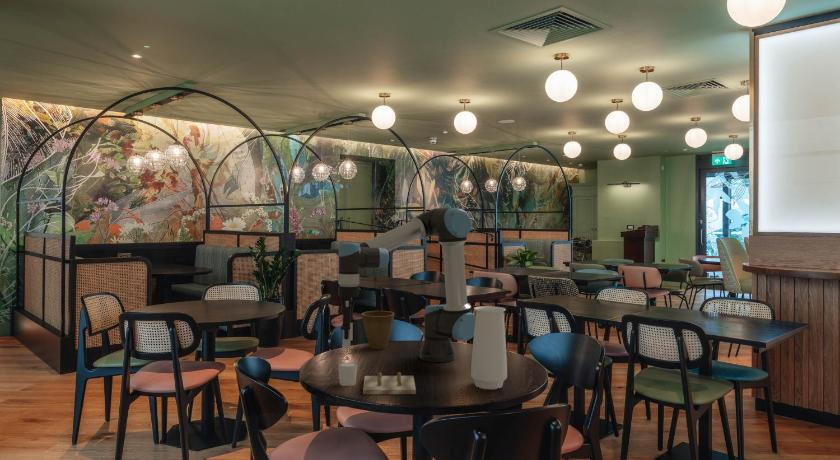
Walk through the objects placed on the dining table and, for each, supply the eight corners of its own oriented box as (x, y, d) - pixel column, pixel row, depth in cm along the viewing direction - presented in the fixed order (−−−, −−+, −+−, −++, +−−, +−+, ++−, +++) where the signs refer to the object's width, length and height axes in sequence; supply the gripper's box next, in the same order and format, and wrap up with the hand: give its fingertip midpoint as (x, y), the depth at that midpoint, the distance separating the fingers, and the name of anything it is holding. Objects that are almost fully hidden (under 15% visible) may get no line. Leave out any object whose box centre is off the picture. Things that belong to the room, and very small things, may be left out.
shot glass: (360, 382, 217) (360, 363, 217) (352, 387, 211) (352, 367, 211) (343, 380, 220) (343, 361, 220) (334, 385, 213) (335, 365, 213)
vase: (497, 392, 206) (498, 312, 206) (464, 386, 213) (465, 309, 213) (512, 384, 217) (513, 307, 217) (480, 378, 224) (481, 304, 224)
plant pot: (365, 343, 284) (366, 310, 284) (396, 344, 282) (396, 311, 282) (358, 350, 269) (358, 315, 269) (390, 351, 267) (390, 316, 267)
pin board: (413, 379, 222) (413, 369, 222) (415, 394, 204) (415, 382, 204) (364, 379, 221) (364, 369, 221) (362, 394, 203) (363, 382, 203)
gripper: (340, 281, 227) (339, 337, 227) (335, 289, 202) (334, 351, 202) (360, 281, 227) (359, 337, 228) (357, 289, 202) (356, 351, 203)
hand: (347, 344), depth 215 cm, fingers open, 13 cm apart
